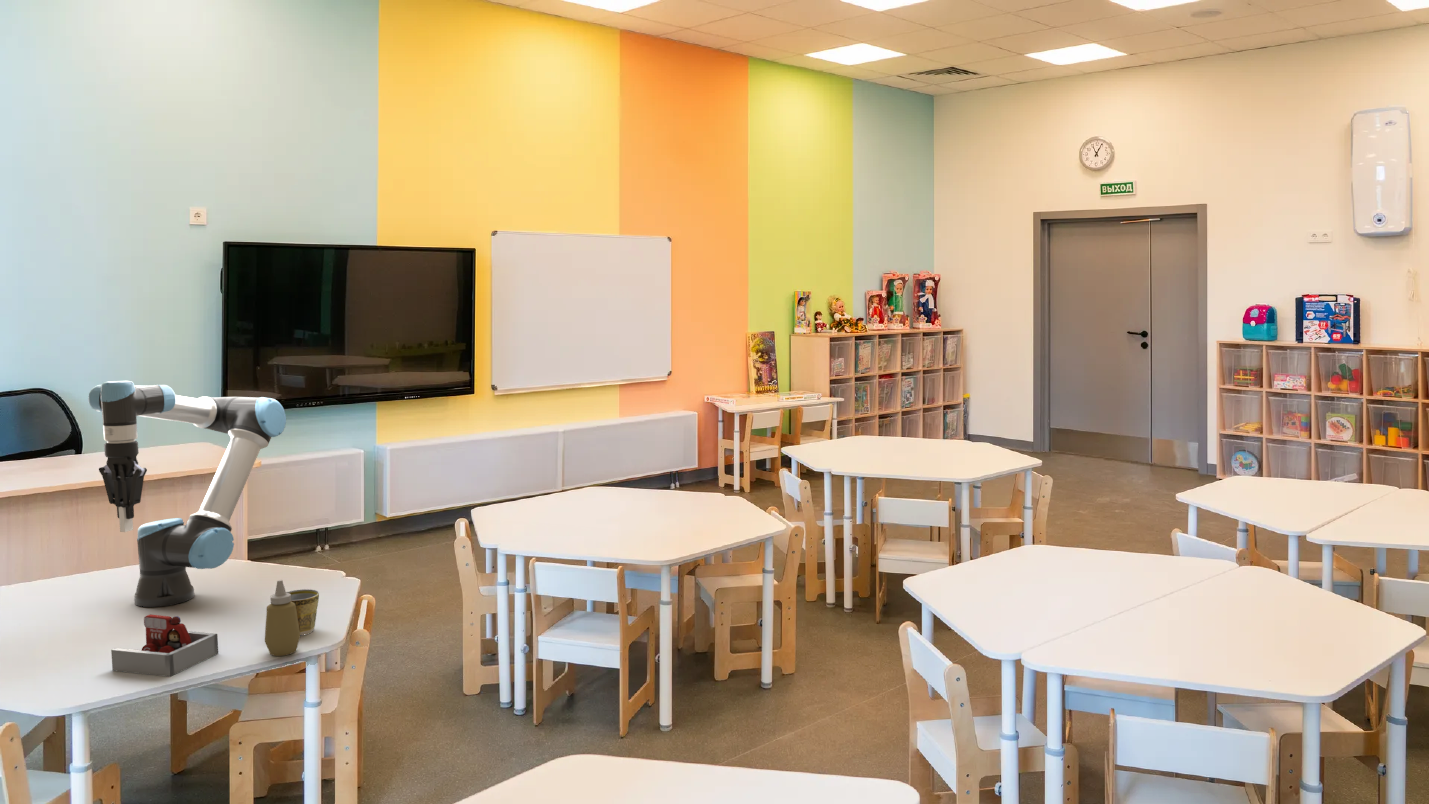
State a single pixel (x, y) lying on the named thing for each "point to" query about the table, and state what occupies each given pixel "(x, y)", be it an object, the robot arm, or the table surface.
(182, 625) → the toy fire truck
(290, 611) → the squeeze bottle
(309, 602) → the ceramic cup
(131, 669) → the box
